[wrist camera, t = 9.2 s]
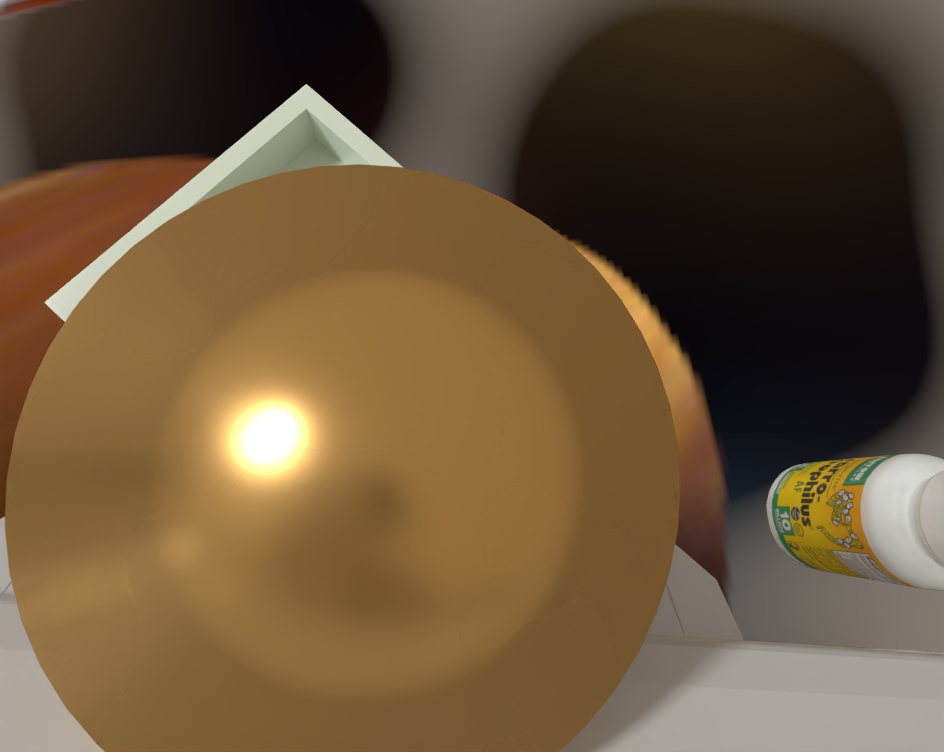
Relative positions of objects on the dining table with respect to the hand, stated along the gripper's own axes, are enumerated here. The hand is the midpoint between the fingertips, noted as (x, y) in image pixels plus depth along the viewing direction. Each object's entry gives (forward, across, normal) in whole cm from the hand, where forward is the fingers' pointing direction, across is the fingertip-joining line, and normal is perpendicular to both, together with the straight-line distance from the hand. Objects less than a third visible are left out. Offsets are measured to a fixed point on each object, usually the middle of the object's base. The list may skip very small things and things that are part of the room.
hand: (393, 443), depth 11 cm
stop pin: (+4, 0, +5) cm, 6 cm away
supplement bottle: (+12, -21, +12) cm, 27 cm away
